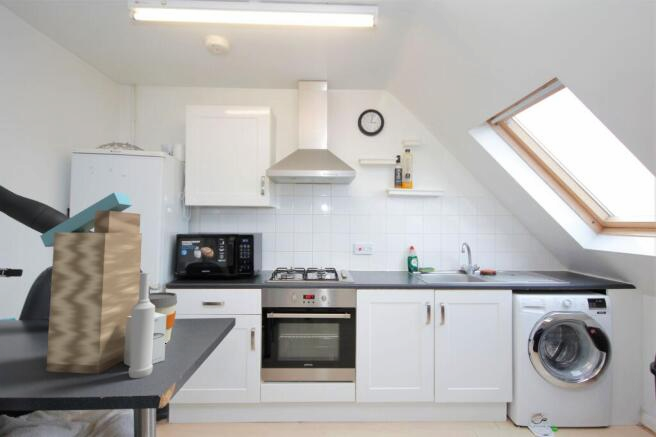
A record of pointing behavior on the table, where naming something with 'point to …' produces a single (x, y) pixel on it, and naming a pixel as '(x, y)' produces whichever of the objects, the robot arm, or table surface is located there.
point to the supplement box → (158, 339)
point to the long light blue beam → (87, 217)
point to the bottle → (142, 332)
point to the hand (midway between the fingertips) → (9, 272)
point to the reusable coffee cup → (165, 308)
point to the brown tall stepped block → (93, 293)
